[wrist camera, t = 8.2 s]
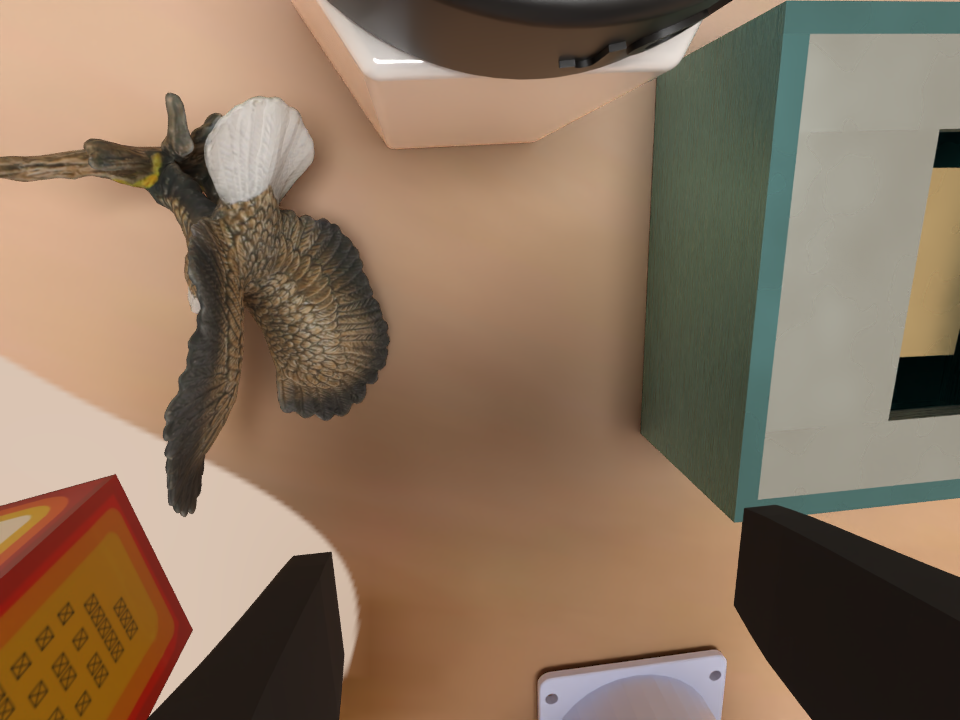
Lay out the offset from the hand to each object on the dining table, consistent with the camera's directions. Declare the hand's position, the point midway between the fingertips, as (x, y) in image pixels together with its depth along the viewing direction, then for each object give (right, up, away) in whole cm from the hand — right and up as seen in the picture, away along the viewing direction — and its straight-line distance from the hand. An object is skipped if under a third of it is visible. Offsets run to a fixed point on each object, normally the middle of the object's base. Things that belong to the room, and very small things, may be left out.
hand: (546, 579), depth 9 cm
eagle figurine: (-8, +6, +8) cm, 13 cm away
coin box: (+11, +7, +10) cm, 16 cm away
